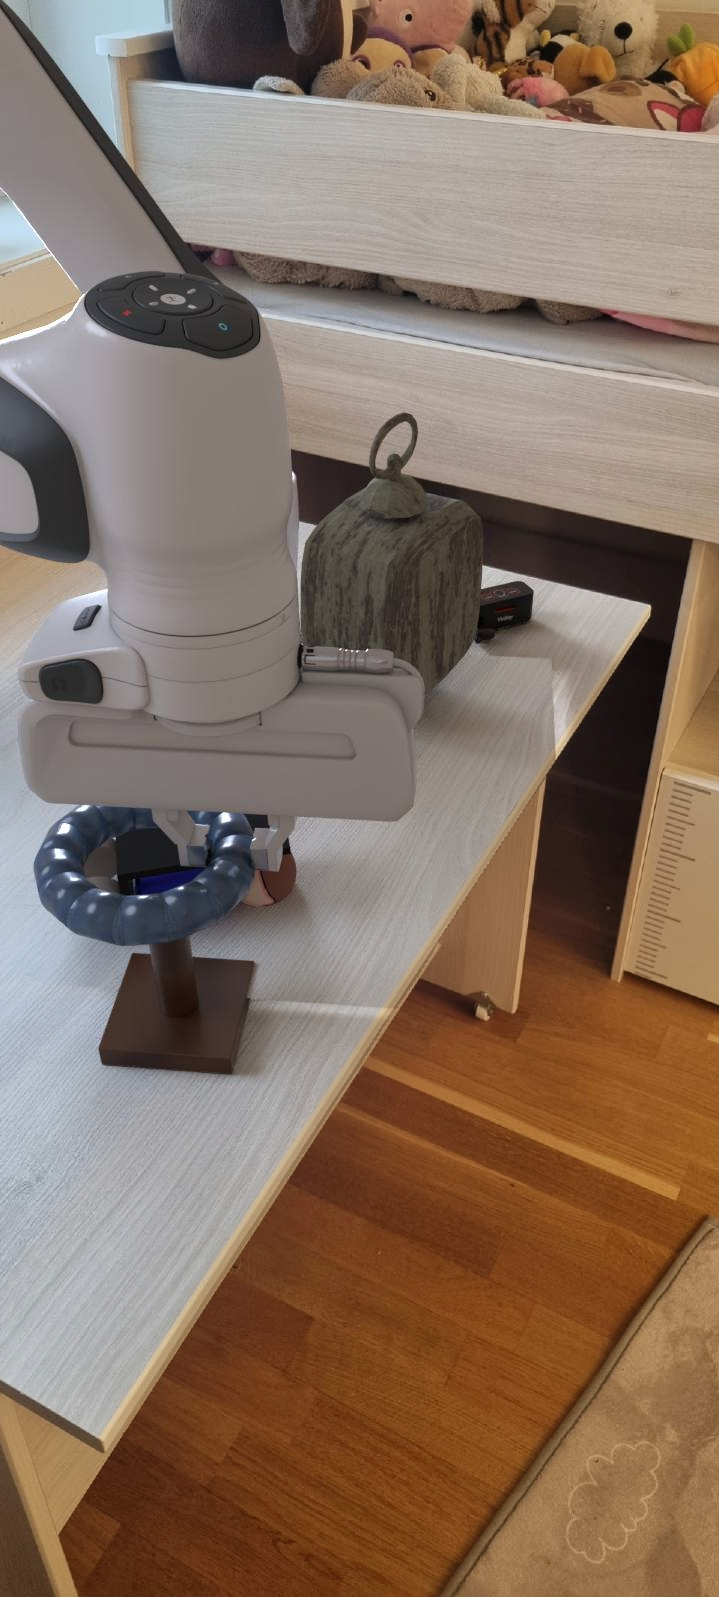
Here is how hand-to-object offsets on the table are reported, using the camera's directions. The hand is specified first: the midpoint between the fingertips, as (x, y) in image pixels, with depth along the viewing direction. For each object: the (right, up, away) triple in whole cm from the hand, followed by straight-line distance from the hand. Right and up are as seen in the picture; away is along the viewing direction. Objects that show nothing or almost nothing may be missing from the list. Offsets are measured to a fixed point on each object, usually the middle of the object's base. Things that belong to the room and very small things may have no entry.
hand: (231, 861), depth 66 cm
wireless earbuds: (+20, +19, +46) cm, 54 cm away
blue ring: (-5, 0, +1) cm, 5 cm away
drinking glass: (-2, +19, +46) cm, 50 cm away
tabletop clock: (+10, +11, +36) cm, 39 cm away
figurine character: (-5, -4, +17) cm, 18 cm away
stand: (-4, -10, +9) cm, 14 cm away
